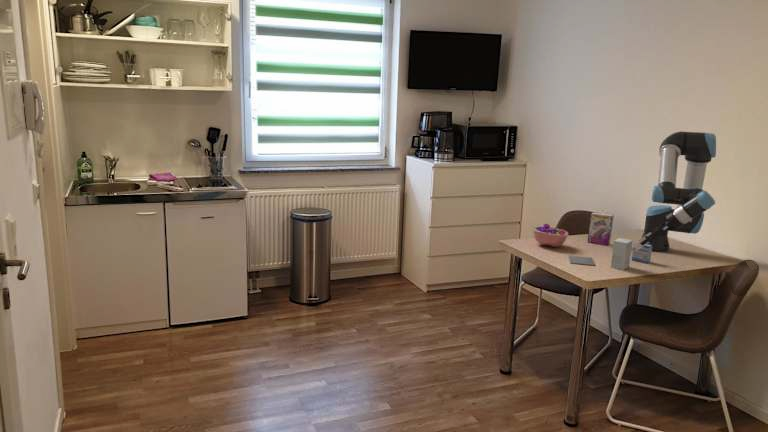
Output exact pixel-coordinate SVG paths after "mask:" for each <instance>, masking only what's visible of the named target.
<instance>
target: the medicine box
mask: <svg viewBox="0 0 768 432" xmlns="http://www.w3.org/2000/svg"><path fill="white" fill-rule="evenodd" d="M636 243H638V242H637V241H636V242H634V243H633V244H632V251H631V258H630V261H633V262H638V263H639V262H640V263H644V264H649V263H650V262H651V258H652V252H653V251H652V246H653V245H648V244H646V245H645V246H643V247H642V248H640V249H639V250H636V249H635V247H634V245H635V244H636Z"/></svg>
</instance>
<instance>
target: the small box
mask: <svg viewBox="0 0 768 432" xmlns="http://www.w3.org/2000/svg"><path fill="white" fill-rule="evenodd" d="M632 250H633V240H632V239H629V238H628V239H627V238H622V237H618V238H617V239H614V240H613V245H612V254H611V259H610V260H611V261H610V268H612V269H613V268H614V269H617V270H621V271H622V270H623V271H624V270H627V268H628V269H629V267H630V264H631V257H632Z"/></svg>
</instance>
